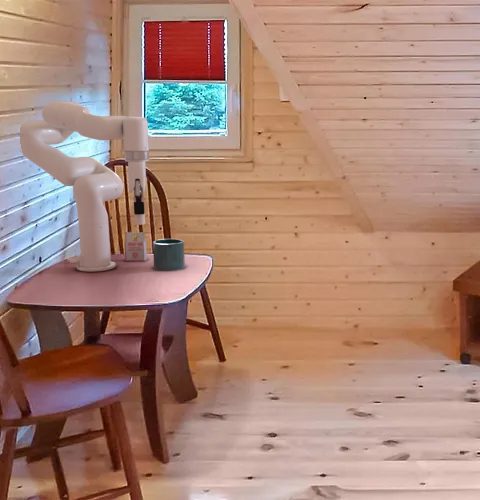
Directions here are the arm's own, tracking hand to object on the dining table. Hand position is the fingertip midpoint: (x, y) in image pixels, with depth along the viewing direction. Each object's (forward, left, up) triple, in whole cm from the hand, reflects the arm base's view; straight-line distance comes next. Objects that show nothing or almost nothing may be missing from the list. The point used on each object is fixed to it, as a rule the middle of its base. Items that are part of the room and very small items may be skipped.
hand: (139, 212), depth 247 cm
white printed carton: (-2, +23, -21) cm, 31 cm away
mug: (+9, +10, -20) cm, 24 cm away
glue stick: (0, 0, -4) cm, 4 cm away
